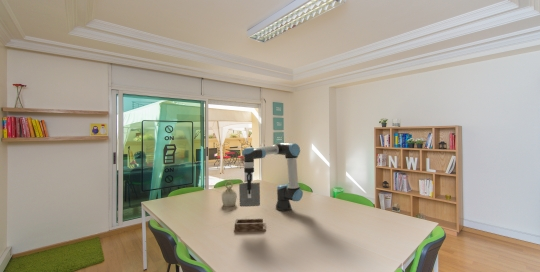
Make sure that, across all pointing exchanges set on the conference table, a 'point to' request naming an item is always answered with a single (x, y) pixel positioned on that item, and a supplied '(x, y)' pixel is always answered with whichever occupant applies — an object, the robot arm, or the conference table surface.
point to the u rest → (249, 225)
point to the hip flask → (254, 195)
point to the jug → (229, 196)
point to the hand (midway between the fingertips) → (249, 197)
